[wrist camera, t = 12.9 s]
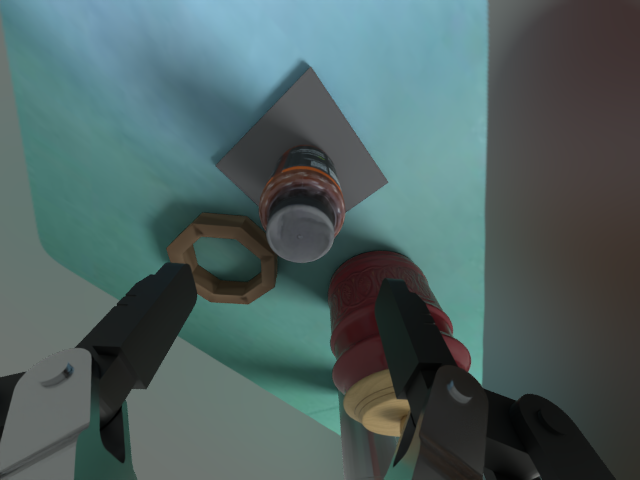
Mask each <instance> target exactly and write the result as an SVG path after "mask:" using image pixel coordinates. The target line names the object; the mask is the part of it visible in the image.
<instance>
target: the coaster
mask: <svg viewBox="0 0 640 480" xmlns="http://www.w3.org/2000/svg"><path fill="white" fill-rule="evenodd" d="M298 145H311V146H315V147H317V148H320V149H321V150H323V151H324V152H325V153H327V154H328V156H329V157H330V158H331V160H332V161H333V163H334V166H335V168H336V172H337V176H338V180H339V183H340V187H341V191H342V194H343V199H344V203H345V213H346V212H347V211H349V210H350V209H351V208H353V207H354V206H356V205H357V204H358V203H360V202H361V201H363V200H364V199H366V198H367V197H368V196H370V195H371V194H373V193H374V192H375V191H377V190H378V189H380V188H381V187H382V186H384V185H385V184H387V183H388V181H387V179H386V178H385V176H384V175H383V173H382V172H381V170H380V169H379V167H378V166H377V165H376V163H375V162H374V160H373V159H372V157H371V156H370V154H369V153H368V151H367V150H366V148H365V147H364V145H363V144H362V142H361V141H360V139H359V138H358V136H357V135H356V133H355V132H354V130H353V129H352V127H351V126H350V124H349V123H348V121H347V120H346V118H345V117H344V115H343V114H342V112H341V111H340V109H339V108H338V106H337V105H336V103H335V102H334V100H333V99H332V97H331V96H330V94H329V93H328V91H327V90H326V88H325V87H324V85H323V84H322V82H321V81H320V79H319V78H318V76H317V75H316V73H315V72H314V70H313V69H312V67H310V68H309V69H308V70H307V71H306V72H305V73H304V74H303V75H302V76H301V77H300V78H299V79H298V80H297V81H296V82H295V84H294V85H293V86H292V87H291V88H290V89H289V90H288V91H287V92H286V93H285V94H284V95H283V96H282V97H281V98H280V99H279V100H278V101H277V102H276V103H275V104H274V105H273V106H272V107H271V108H270V110H269V111H268V112H267V113H266V114H265V115H264V116H263V117H262V118H261V119H260V120H259V121H258V122H257V123H256V124H255V125H254V126H253V127H252V128H251V129H250V130H249V131H248V132H247V133H246V134H245V135H244V137H243V138H242V139H241V140H240V141H239V142H238V143H237V144H236V145H235V146H234V147H233V148H232V149H231V150H230V151H229V152H228V153H227V154H226V155H225V156H224V157H223V158H222V159H221V160H220V161H219V162H218V164H217V165H216V167H217V168H218V169H219V170H220V171H222V172H223V173H224V174H225V175H226V176H227V177H228V178H229V179H230V180H231V181H232V182H233V183H234V184H235V185H236V186H237V187H238V188H240V189H241V190H242V191H243V192H244V193H245V194H246V195H247V196H248V197H249V198H250V199H251V200H252V201H253V202H254V203H255V204H256V205H258V206H259V202H260V197H261V194H262V192H263V190H264V188H265V185H266V183H267V181H268V180H269V178H270V176H271V174H272V172H273V170H274V168H275V166H276V164H277V162H278V160H279V158H280V157H281V156H282V155H283V154H284V153H285V152H286V151H287V150H289V149H291V148H293V147H295V146H298Z"/></svg>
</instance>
